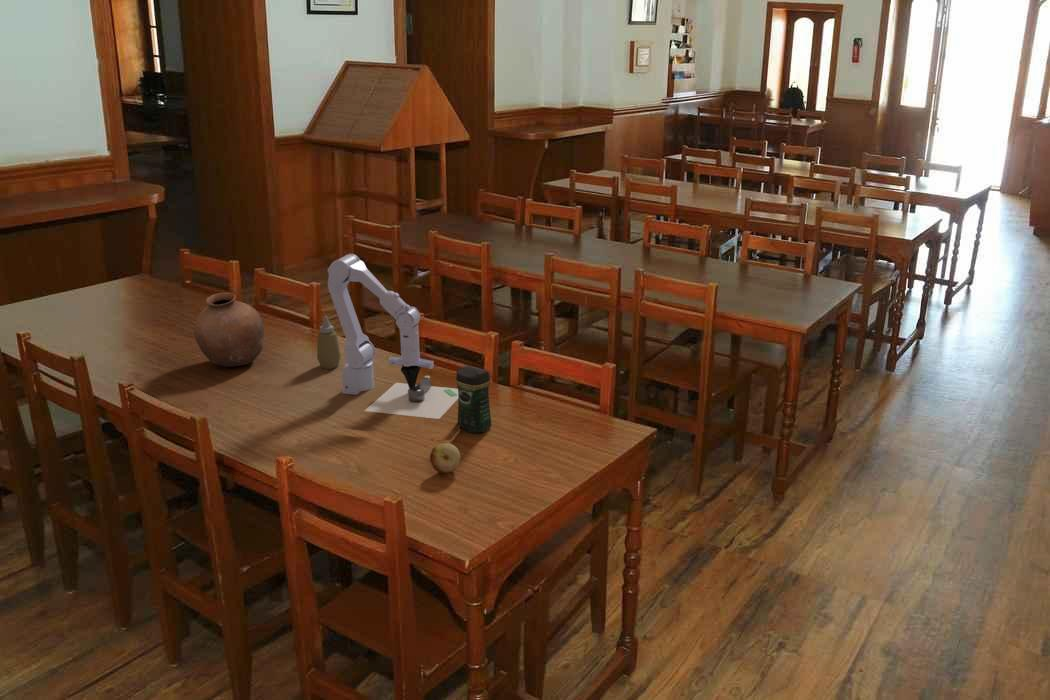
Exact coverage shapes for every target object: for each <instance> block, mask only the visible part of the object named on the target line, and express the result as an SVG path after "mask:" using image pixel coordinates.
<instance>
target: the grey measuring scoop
mask: <svg viewBox="0 0 1050 700" xmlns="http://www.w3.org/2000/svg"><path fill="white" fill-rule="evenodd" d="M431 386H432V385H431V375H425V376H423V379H421V380H420V381H419V383H416V386H415V387H413V388H410V389H408V400H409V401H411V402H421V401H423V400H424V399H425V394H424V393H425V392H426V391H427V390H428V389H429V388H430V387H431Z"/></svg>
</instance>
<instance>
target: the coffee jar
mask: <svg viewBox="0 0 1050 700" xmlns="http://www.w3.org/2000/svg"><path fill="white" fill-rule="evenodd" d="M455 382H456V386H457V389H458V399H457V401H458V402H457V403H458V404H457V406H458V407H457V424H458V426H459V428H460V429H462V430H464V431H467V432H470V433H473V434H478V433H483V432H487V431H488V430H489V429H490V428H491V427H492V416H491V415H492V414H491V408H490V397H489V396H490V395H489V392H490V391H489V387H490V383H491V377H490V372H489V370H486V369H483V368H479V367H476V366H472V365H469V364H466V365H464V366H460V367H459V368H458V369H457V371H456V376H455Z"/></svg>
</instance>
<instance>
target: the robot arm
mask: <svg viewBox="0 0 1050 700" xmlns="http://www.w3.org/2000/svg"><path fill="white" fill-rule="evenodd" d="M327 273H328V279H327V289H328V292H329V295H330V297H331V300H332V303H333V306H334V309H335V311H336V313H337V316H338V320H339V322H340V325H341V328H342V331H343V334H344V336H345V344H344V347H343V348H344V352H345V361H346V363H345V364H344V366H343V368H342V370H341V376H342V377H341V378H342V389H343V391H342V392H341V393H342V394H346V395H353V396H354V395H355V396H356V395H358V394H359V393H361V392H364V391H370V390H372V389H373V388H374V387H375V379H374V365H373V363H374V362H373V358H374V357H375V356H376V348H375V345H374V344H373V343H372V342H371V341H370V339H369V336H368V335H366V334H365V333H363V330H362V328H361V327H362V326H361V325H360V322H359V318H358V316H357V314H356V311H355V307H354V304H353V301H352V299H351V295H350V293H349V291H348V285H349V283H350V282H354V283H355V282H356V283H357V282H358V283H361V284H362V285H363V286H364V287H365V288H367V289H368V290H369V291H370V292H371V293H372V294H373V295H374V296H376V297H377V298H378V299H379V305H380V306H381V307H382V308H383V309H384V310H385V311H386V312H387V313H389V315H391V317H392V318H394V320H395V323H396V326H397V327H398V328H399V338H400V353H401V354H400V355H401V356H399V357H393V356H392V357H391V356H390V357H389V358H388V359H387V361H388V362H387V363H388V365H389V366H392V365H393V366H394V365H395V366H401V368H400V372H401V373H402V374H403V377H404V378H405V380H406V384H408V386H409V388H413V387H415V386H416V385H417V379H418V376H419V374H420V370H421V369H422V368H426V369H429V370H432V369H433V368H434V367H435V365H434V360H429V359H424V358H421V353H420V335H419V323H420V320H421V313H420V311H419V310H418V309H417V307H415V306H410V305H409V304H408V303H406V302H405V301H404V300H403V298H401V297H400V294H399V293H398V292H395V291H394V290H387V288H385V286H383V284H382V283H381V282H380V281H379V280H378V279H377V277H376V276H375V275H374V274H373V273H372V272H371V271H370V270H369V269H368V268H367V266H366V264H365V262H364V261H363V260H361V259H360V257H359V256H357V255H356V254H354V253H348V254H345V255H344V256H341V258H338V259H336V260H333V261H332V262H331V263H330V265H329V266H328V268H327Z"/></svg>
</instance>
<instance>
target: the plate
mask: <svg viewBox="0 0 1050 700" xmlns="http://www.w3.org/2000/svg"><path fill="white" fill-rule="evenodd" d="M430 386H431V387H430V388H429V389H428V390H427V391H426V392H425V393H424V394H425V399H424V400H423V401H421V402H411V401H409V400H408V389H410V388H409V386H408V383H405V382H404V383H403V382H395V383H394V384H393V385H392V386H391V387H390V388H389V389H387V390H386V391H385V392H383V394H381V396H379V398H377V399H376V400H375V401H374V402H373V403H372V404H370V405H369V406H368V407H367V408H366V409H364V412H371V413H381V414H390V415H399V416H406V417H408V416H409V417H417V418H427V419H434V420H440V419H441V418H442V417H443V416H444V414H446V413H447V411H448V410H449V409H450V408H451V407H452V406H453V405H454V404H455V403H456V402H457V401H458V388H454V387H453V388H452V387H444V386H443V387H442V386H433V385H430Z"/></svg>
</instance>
